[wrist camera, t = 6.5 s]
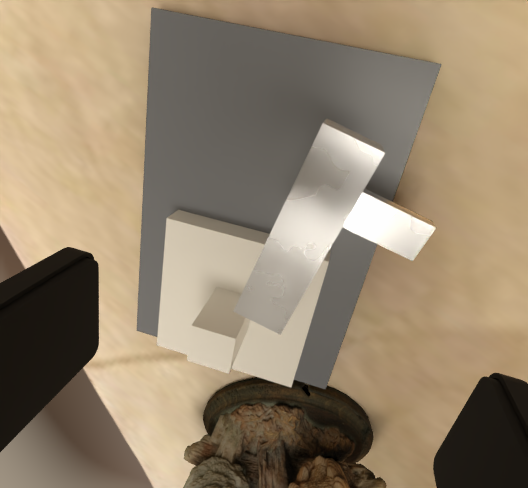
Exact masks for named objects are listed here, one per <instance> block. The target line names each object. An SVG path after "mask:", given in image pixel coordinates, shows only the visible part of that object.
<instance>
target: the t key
mask: <svg viewBox="0 0 528 488" xmlns="http://www.w3.org/2000/svg"><path fill="white" fill-rule="evenodd" d="M384 154H385V151H384V149H383V147H382V145H381V144H379V143H377V142H375V141H373V140H371V139H369V138H367V137H364V136H362V135H360V134H358V133H356V132H354V131H352V130H350V129H348V128H346V127H344V126H341V125H339V124H337V123H335V122H333V121H331V120H329V119H327V118H326V120H325V121H324V122H323V124H322V126H321V128H320V130H319V132H318V134H317V136H316V138H315V140H314V143H313V145H312V147H311V149H310V151H309V153H308V155H307V157H306V159H305V161H304V164H303V166H302V168H301V170H300V172H299V174H298V176H297V178H296V180H295V182H294V185H293V187H292V189H291V191H290V193H289V195H288V197H287V199H286V201H285V203H284V206H283V208H282V210H281V212H280V214H279V216H278V218H277V220H276V222H275V224H274V227H273V229H272V231H271V233H270V235H269V237H268V239H267V241H266V243H265V245H264V248H263V250H262V252H261V254H260V256H259V258H258V260H257V262H256V264H255V266H254V269H253V271H252V273H251V275H250V277H249V279H248V281H247V283H246V285H245V287H244V290H243V292H242V294H241V296H240V298H239V300H238V302H237V304H236V306H235V309H234V311H233V312H235V313H237V314H239V315H241V316H243V317H245V318H247V319H249V320H251V321H254V322H256V323H258V324H260V325H262V326H264V327H266V328H268V329H270V330H272V331H274V332H276V333H278V334H280V335H281V333H282V331H283V329H284V328H285V326H286V324H287V322H288V321H289V319H290V317H291V316H292V314H293V312H294V310H295V309H296V307H297V305H298V303H299V302H300V300H301V298H302V296H303V295H304V293H305V291H306V290H307V288H308V286H309V284H310V283H311V281H312V279H313V277H314V276H315V274H316V272H317V270H318V269H319V267H320V265H321V263H322V262H323V260H324V258H325V257H326V255H327V253H328V251H329V250H330V248H331V246H332V244H333V243H334V241H335V239H336V237H337V236H338V234H339V232H340V231H341V229H342V227H343V228H345V229H347V230H349V231H351V232H354V233H356V234H358V235H360V236H362V237H364V238H366V239H368V240H370V241H372V242H374V243H376V244H378V245H380V246H382V247H384V248H386V249H388V250H391V251H393V252H395V253H397V254H399V255H401V256H403V257H405V258H407V259H409V260H411V261H413V260H414V258H415V257H416V256H417V254H418V253H419V251H420V250H421V249H422V247H423V246H424V244H425V243H426V242H427V240H428V239H429V237H430V236H431V235H432V233H433V232H434V230H435V229H436V227H435V225H434V223H433V221H431V220H429V219H427V218H425V217H423V216H421V215H419V214H417V213H415V212H413V211H411V210H408V209H406V208H404V207H402V206H400V205H398V204H396V203H394V202H392V201H390V200H388V199H386V198H384V197H382V196H379V195H377V194H375V193H373V192H371V191H369V190H367V189H365V187H366V185H367V184H368V182H369V180H370V178H371V177H372V175H373V173H374V172H375V170H376V168H377V166H378V165H379V163H380V161H381V159H382V158H383V156H384Z"/></svg>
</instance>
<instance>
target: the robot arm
mask: <svg viewBox="0 0 528 488" xmlns="http://www.w3.org/2000/svg"><path fill="white" fill-rule="evenodd" d="M98 345H99V270H98V263H97V262H96V261H95V260H94V257H93V255H92V254H91V253H88V252H85V251H81V250H78V249H75V248H71V247H67V248H64V249H62V250H60V251H58V252H56V253H55V254H53V255H51V256H49V257H47V258H45V259H44V260H42V261H40V262H38V263H36V264H34V265H33V266H31V267H29V268H27V269H25V270H23V271H22V272H20V273H18V274H16V275H14V276H13V277H11V278H9V279H7V280H5V281H3V282H2V283H0V452H1V451H2V450H3V449H4V448H5V447H6V446H7V445H8V444H9V443H10V442H11V441H12V440H13V439H14V437H16V435H17V434H18V433H19V432H20V431H21V430H22V429H23V428H24V427H25V426H26V425H27V424H28V423H29V422H30V421H31V420H32V419H33V418H34V417H35V416H36V415H37V414H38V413H39V412H40V411H41V410H42V409H43V408H44V407H45V406H46V405H47V404H48V403H49V402H50V401H51V400H52V399H53V398H54V397H55V396H56V395H57V394H58V393H59V392H60V390H61V389H62V388H63V387H64V386H65V385H66V384H67V383H68V382H69V381H70V380H71V379H72V378H73V377H74V376H75V375H76V374H77V373H78V372H79V371H80V370H81V369H82V368H83V367H84V366H85V365H86V364H87V363H88V362H89V361H90V360H91V359H92V358H93V356H94V355H95V353H96V351H97V349H98ZM433 470H434V476H435V481H436V486H437V488H528V384H527V382H525V381H523V380H520V379H516V378H513V377H509V376H506V375H503V374H499V373H493V374H492V375H490V376H489V377H482V378H481V379H480V381H479V382H478V384H477V385H476V387H475V389H474V391H473V392H472V394H471V396H470V397H469V399H468V401H467V402H466V404H465V406H464V408H463V409H462V411H461V413H460V414H459V416H458V418H457V419H456V421H455V423H454V425H453V426H452V428H451V430H450V431H449V433H448V435H447V436H446V438H445V440H444V441H443V443H442V445H441V447H440V448H439V450H438V452H437V453H436V456H435V459H434V465H433Z"/></svg>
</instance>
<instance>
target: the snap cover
mask: <svg viewBox="0 0 528 488" xmlns="http://www.w3.org/2000/svg"><path fill="white" fill-rule="evenodd" d="M269 235H270V234H268V233H265V232H261V231H257V230H253V229H249V228H246V227H242V226H238V225H234V224H231V223H227V222H223V221H219V220H215V219H212V218H208V217H204V216H200V215H197V214H193V213H189V212H185V211H181V210H177V211H176V212H174V213H173V214H172V215H170V216H169V217H167V219H166V232H165V245H164V258H163V271H162V284H161V297H160V310H159V323H158V336H157V346H161V347H164V348H167V349H170V350H173V351H176V352H180V353H183V354H186V355H188V356H187V361H190V362H193V363H196V364H199V365H202V366H206V367H209V368H212V369H215V370H218V371H221V372H225V373H228V374H229V373H230V370H231V369H234V370H237V371H240V372H243V373H246V374H249V375H253V376H256V377H259V378H262V379H265V380H268V381H272V382H275V383H278V384H281V385H284V386H287V387H292V384H293V380H294V377H295V374H296V370H297V367H298V364H299V360H300V357H301V354H302V350H303V347H304V344H305V340H306V337H307V334H308V330H309V327H310V324H311V320H312V317H313V314H314V310H315V307H316V304H317V300H318V297H319V294H320V290H321V287H322V284H323V280H324V277H325V274H326V270H327V267H328V264H329V259H330V252H331V250H329V251H328V253H327V255H326V257H325V258H324V260H323V262H322V263H321V265H320V267H319V269H318V270H317V272H316V274H315V276H314V277H313V279H312V281H311V283H310V284H309V286H308V288H307V290H306V291H305V293H304V295H303V296H302V298H301V300H300V302H299V303H298V305H297V307H296V309H295V310H294V312H293V314H292V316H291V317H290V319H289V321H288V322H287V324H286V326H285V328H284V329H283V331H282V333H281V335H280V334H278V333H276V332H274V331H272V330H270V329H268V328H266V327H264V326H262V325H260V324H258V323H256V322H254V321H251V320H249V319H247V318H245V317H243V316H241V315H239V314H237V313H235V312H233V311H234V309H235V306H236V304H237V302H238V300H239V298H240V296H241V294H242V292H243V290H244V287H245V285H246V283H247V281H248V279H249V277H250V275H251V273H252V271H253V269H254V266H255V264H256V262H257V260H258V258H259V256H260V254H261V252H262V250H263V248H264V245H265V243H266V241H267V239H268V237H269Z"/></svg>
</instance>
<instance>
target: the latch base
mask: <svg viewBox="0 0 528 488" xmlns="http://www.w3.org/2000/svg"><path fill="white" fill-rule="evenodd" d="M440 67H441V64H438V63H433V62H428V61H423V60H418V59H413V58H408V57H402V56H397V55H392V54H387V53H382V52H377V51H372V50H367V49H362V48H356V47H351V46H346V45H341V44H336V43H331V42H326V41H321V40H315V39H310V38H305V37H300V36H295V35H290V34H285V33H280V32H275V31H269V30H264V29H259V28H254V27H249V26H244V25H239V24H234V23H228V22H223V21H218V20H213V19H208V18H203V17H198V16H193V15H188V14H182V13H177V12H172V11H167V10H162V9H157V8H152V9H151V30H150V52H149V74H148V95H147V117H146V139H145V161H144V182H143V204H142V226H141V248H140V269H139V291H138V313H137V331H140V332H143V333H146V334H149V335H152V336H156V337H157V336H158V323H159V310H160V297H161V284H162V271H163V258H164V245H165V232H166V219H167V217H169V216H170V215H172V214H173V213H174V212H176V211H177V210H181V211H185V212H189V213H193V214H197V215H200V216H204V217H208V218H212V219H215V220H219V221H223V222H227V223H231V224H234V225H238V226H242V227H246V228H249V229H253V230H257V231H261V232H265V233H268V234H270V233H271V231H272V229H273V227H274V224H275V222H276V220H277V218H278V216H279V214H280V212H281V210H282V208H283V206H284V203H285V201H286V199H287V197H288V195H289V193H290V191H291V189H292V187H293V185H294V182H295V180H296V178H297V176H298V174H299V172H300V170H301V168H302V166H303V164H304V161H305V159H306V157H307V155H308V153H309V151H310V149H311V147H312V145H313V143H314V140H315V138H316V136H317V134H318V132H319V130H320V128H321V126H322V124H323V122H324V121H325V120H326V118H327V119H329V120H331V121H333V122H335V123H337V124H339V125H341V126H344V127H346V128H348V129H350V130H352V131H354V132H356V133H358V134H360V135H362V136H364V137H367V138H369V139H371V140H373V141H375V142H377V143H379V144H381V145H382V147H383V149H384V151H385V154H384V156H383V158H382V159H381V161H380V163H379V165H378V166H377V168H376V170H375V172H374V173H373V175H372V177H371V178H370V180H369V182H368V184H367V185H366V187H365V189H367V190H369V191H371V192H373V193H375V194H377V195H379V196H382V197H384V198H386V199H388V200H390V201H392V202H393V199H394V196H395V193H396V190H397V188H398V185H399V182H400V179H401V176H402V174H403V171H404V168H405V165H406V162H407V160H408V157H409V154H410V151H411V148H412V146H413V143H414V140H415V137H416V134H417V132H418V129H419V126H420V123H421V120H422V118H423V115H424V112H425V109H426V106H427V104H428V101H429V98H430V95H431V92H432V90H433V87H434V84H435V81H436V78H437V76H438V73H439V70H440ZM376 246H377V244H376V243H374V242H372V241H370V240H368V239H366V238H364V237H362V236H360V235H358V234H356V233H354V232H351V231H349V230H347V229H345V228H343V227H342V229H341V231H340V232H339V234H338V236H337V237H336V239H335V241H334V243H333V244H332V246H331V248H330V250H331V252H330V259H329V264H328V267H327V270H326V274H325V277H324V280H323V284H322V287H321V290H320V294H319V297H318V300H317V304H316V307H315V310H314V314H313V317H312V320H311V324H310V327H309V330H308V334H307V337H306V340H305V344H304V347H303V350H302V354H301V357H300V360H299V364H298V367H297V370H296V374H295V377H294V380H297V381H300V382H303V383H306V384H309V385H313V386H316V387H319V388H322V389H326V387H327V384H328V381H329V378H330V375H331V373H332V370H333V367H334V364H335V361H336V359H337V356H338V353H339V350H340V347H341V345H342V342H343V339H344V336H345V333H346V331H347V328H348V325H349V322H350V319H351V317H352V314H353V311H354V308H355V305H356V303H357V300H358V297H359V294H360V291H361V289H362V286H363V283H364V280H365V277H366V274H367V272H368V269H369V266H370V263H371V260H372V258H373V255H374V252H375V249H376Z"/></svg>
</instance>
